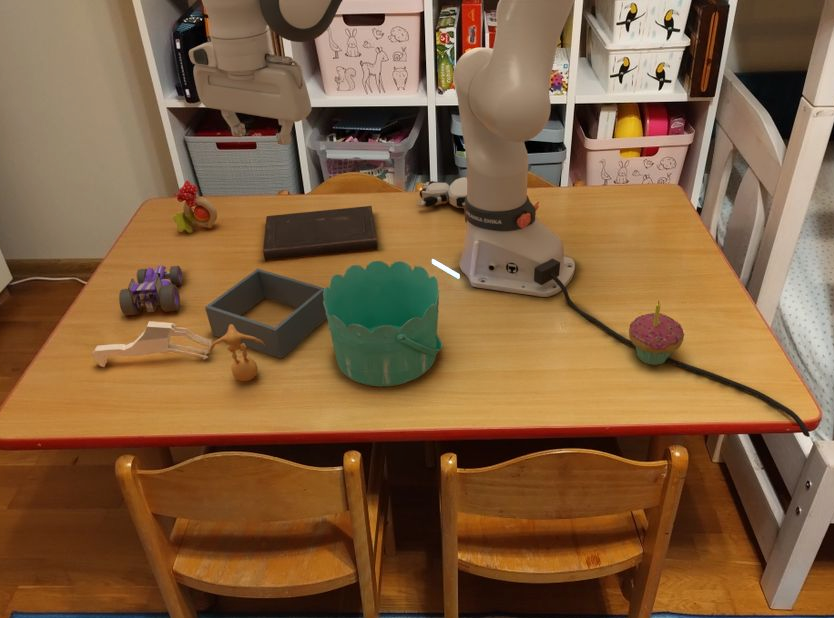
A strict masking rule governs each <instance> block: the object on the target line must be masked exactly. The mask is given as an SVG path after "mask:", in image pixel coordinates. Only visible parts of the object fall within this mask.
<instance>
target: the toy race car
mask: <svg viewBox="0 0 834 618" xmlns="http://www.w3.org/2000/svg"><path fill="white" fill-rule="evenodd" d="M169 279H170V280H169ZM136 281H137V283H136ZM136 281H135V278H131V279H130V282H129V284H128V286H127V288H122V289H121V290H120V291H119V293H118V294H119V296H118V302H119V307H120V311H121V312H122V314H123V315H124V316H135V315H136V316H137V315H140V313H141V309H142V308H146V311H147V313H155V312H156V310H157V308H158V306H161V308H162V311H163V312H165V313H167V312H177V311H179V310H180V307H181V298H180V292H179V289H178V287H177V286H181V285H182V284H183V281H184V280H183V270H182V268H181V267H180V266H179V265H173V266H170V267H169V271H166V266H165V265H157V266H156V267H155V269H154V268H153V267H148V268H139V269H137V271H136ZM141 296H142V299H141ZM142 304H143V305H142Z"/></svg>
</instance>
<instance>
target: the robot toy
mask: <svg viewBox="0 0 834 618" xmlns="http://www.w3.org/2000/svg"><path fill="white" fill-rule="evenodd" d="M466 195H467V176H466V177H459V178H457V179H454V181H453V182H452V183H451V184H448V183H447V182H439V181H434V180H430V181H426V182H425V183H423V187H422V189H421V190H420V191H419V197H420V198H421V199H422V200H419V201H417V202H416V203H417V206H418V207H426V208H428V207H433V206H440V205H443V204H447V203H448V202H449V204H450V205H452V206H453V207H455V208H458V209H461V208H462V209H464V210H465V197H466Z"/></svg>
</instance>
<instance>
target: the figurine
mask: <svg viewBox="0 0 834 618" xmlns="http://www.w3.org/2000/svg"><path fill="white" fill-rule="evenodd" d="M241 339H250V340H255V341H257V342H260V343H262V344H264V343H263V341H261V340H260V339H257V338H255V337H253V336H249V335H244V334H241V333H239V332H238V331H237V330H236V328H235V327H234V325H232V324H231V325H229V328H228V331H227V334H225V335H224V336H223V337H221V338H220V337H219V338H218V339H216V340H214V341H213V342H211V344H210V347H209V353H212V351H213V349H214V348H215V346H216V345H218V344H220V343H223V342H226V343H227V350H228V351H229V353H232V355H231V357H232V358H233V360H234V361H233V362H232V365H231V373H232V376H234V378H235V379H237V380H238V381H241V382H248V381H251V380H252V379H253V378H255V376H256V375H257V372H258V365H257V363H256V361H255V360H254V359H253V358H251V357H249V356H248V352H247V349H248V347H246V346H245V344H244V343H242V344H240V342H241ZM264 346H265V344H264ZM239 350H240V351H242V356H240V357H238V355H237V353H236V351H239Z"/></svg>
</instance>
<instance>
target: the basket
mask: <svg viewBox="0 0 834 618" xmlns="http://www.w3.org/2000/svg"><path fill="white" fill-rule="evenodd" d="M323 288H324V292H323V296H324V301H323V302H324V307H325V311H326V316H327V319H326V321H327V324H328V330H329V331H330V336H331V337H330V338H331V342H332V345H333V350H334V354H335V359H336V364H337V367H338V368H339V370H340V371H341V372H342V373H343V375H344V376H346V377H347V378H348V379H350V380H352V381H354V382H356V383H359V384H362V385H366V386H371V387H372V386H373V387H393V386H398V385H404V384H405V383H406V384H407V383H409V382H412V381H414V380H417V379H418V378H419V377H421V376H423V375H424V374H426V372H428V371H429V370H430V369H431V367H432V366H433V364H434V362H435V361H436V358H437V354H438V353H439V352H440V351H441V350H442V348H443V343H442V341H441V338H440V337H439V336H438V320H439V305H440V302H439V300H440V298H439V297H440V289H439V283H438V279H437V277H436V276H434V275H432V276H430V274H429V272H428V270H427V269H426V268H424V267H423V266H419V265H414V266H413V269H412V267H411V266H410V264H409V263H407V262H405V261H402V260H398V261H396V260H395V261H394V262H392V263H391V264H390V265H388V264H387V263H386V262H384V261H382V260H372V261H370V262H369V263H368V264H367V265H366V267H365V268H364V267H363V266H362V265H360V264H352V265H351V266H349V267H348V268H347V269H346V270H345V272H344V275H342V274H339V273H336V274H334V275H333V276H332V277H331V278H330V282H329V286H324V287H323Z"/></svg>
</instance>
